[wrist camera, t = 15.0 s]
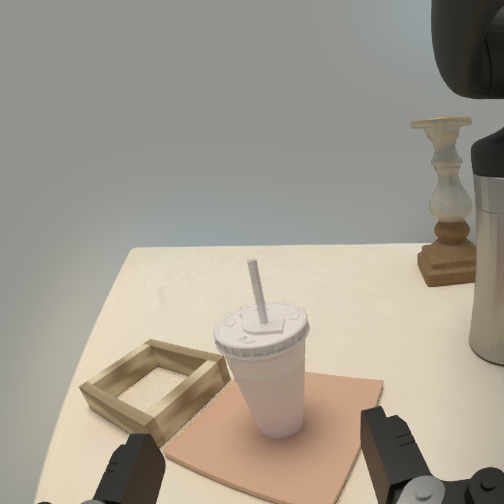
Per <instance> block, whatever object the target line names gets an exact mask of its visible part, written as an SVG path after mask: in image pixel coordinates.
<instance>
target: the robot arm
mask: <svg viewBox="0 0 504 504" xmlns="http://www.w3.org/2000/svg"><path fill="white" fill-rule="evenodd" d="M431 31H432V43H433V50H434V55H435V60H436V63H437V67H438V69H439V72H440V74H441V76H442V78H443V80H444V81H445V83H446V84H447V86H448V87H449V88H450V89H451V90H452V91H453V92H454V93H456V94H458V95H460V96H462V97H467V98H472V99H504V0H432V8H431ZM471 161H472V170H473V179H474V192H475V206H476V273H475V289H474V302H473V311H472V320H471V328H470V336H469V342H470V345H471V347H472V349H473V350H474V351H475V352H476V353H477V354H478V355H479V356H480V357H482V358H484V359H486V360H488V361H490V362H493V363H497V364H502V365H504V127H503V128H502V129H501V130H499V131H497V132H496V133H494V134H491V135H489V136H487V137H485V138H482V139H480V140H478V141H476V142H475V143H474V144H473V145H472V147H471ZM360 441H361V447H362V451H363V454H364V457H365V461H366V464H367V467H368V470H369V474H370V477H371V480H372V483H373V487H374V490H375V493H376V497H377V500H378V504H504V473H503V472H502V471H501V470H500V469H497V468H493V467H487V468H483V469H481V470H479V471H477V472H476V473H475V474H474V475H473V476H472V478H471V479H466V480H459V481H442V480H439V479H438V478H436V477H434V476H433V475H432V474H431V472H430V471H429V468H428V466H427V464H426V462H425V460H424V458H423V456H422V454H421V452H420V450H419V448H418V445H417V443H415V439H414V437H413V435H411V431H410V429H409V427H408V425H407V423H406V422H405V421H404V420H402V419H401V418H400V417H398V416H397V415H394V416H391V417H386V415H385V412H384V410H383V408H382V407H381V406H377V407H373V408H369V409H365V410H361V421H360ZM165 467H166V465H165V459H164V456H163V455H162V453H161V451H160V449H159V448H158V446H157V444H156V442H155V440H154V438H153V437H152V435H151V434H148V433H131V434H130V436H129V438H128V440H127V442H126V445H122V444H121V445H120V446H119V447H118V448H117V449H116V450H115V451H114V452H113V454H112V457H111V459H110V461H109V464H108V465H107V468H106V472H104V474H103V477H102V479H101V481H100V484H99V486H98V488H97V490H96V493H95V495H94V497H93V499H92V500H88V501H85V502H83V503H81V504H156V501H157V498H158V494H159V491H160V487H161V483H162V480H163V476H164V473H165ZM38 504H51V503H49V502H41V503H38Z"/></svg>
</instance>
